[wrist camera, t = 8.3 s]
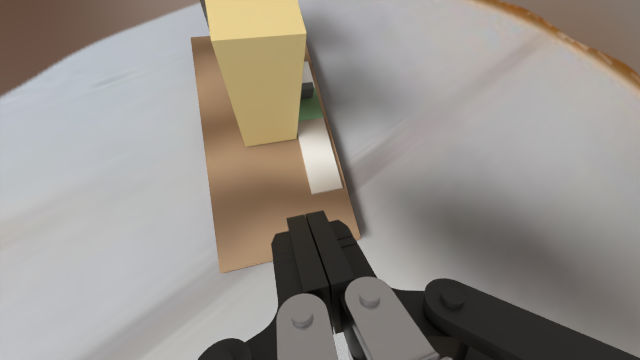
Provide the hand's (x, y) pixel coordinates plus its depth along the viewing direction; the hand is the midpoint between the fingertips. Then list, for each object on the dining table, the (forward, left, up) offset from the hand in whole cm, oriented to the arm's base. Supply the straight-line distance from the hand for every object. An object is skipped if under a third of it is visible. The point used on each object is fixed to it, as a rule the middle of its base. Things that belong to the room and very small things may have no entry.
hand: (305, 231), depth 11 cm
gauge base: (-4, -8, -9) cm, 13 cm away
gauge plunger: (-7, -10, -8) cm, 14 cm away
